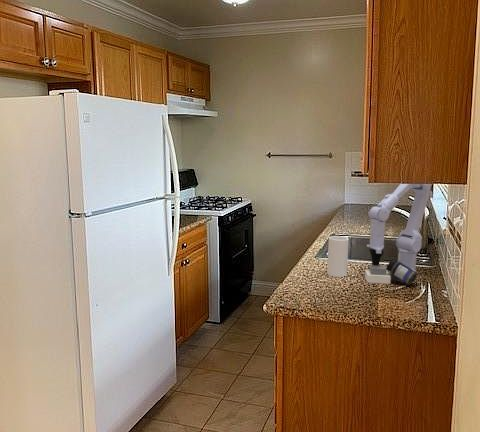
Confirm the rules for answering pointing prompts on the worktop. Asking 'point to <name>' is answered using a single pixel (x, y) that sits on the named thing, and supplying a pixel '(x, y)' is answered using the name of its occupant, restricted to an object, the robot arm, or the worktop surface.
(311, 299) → the worktop surface
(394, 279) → the plug
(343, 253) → the cup
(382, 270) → the grey square block
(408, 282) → the pill bottle
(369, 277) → the socket
